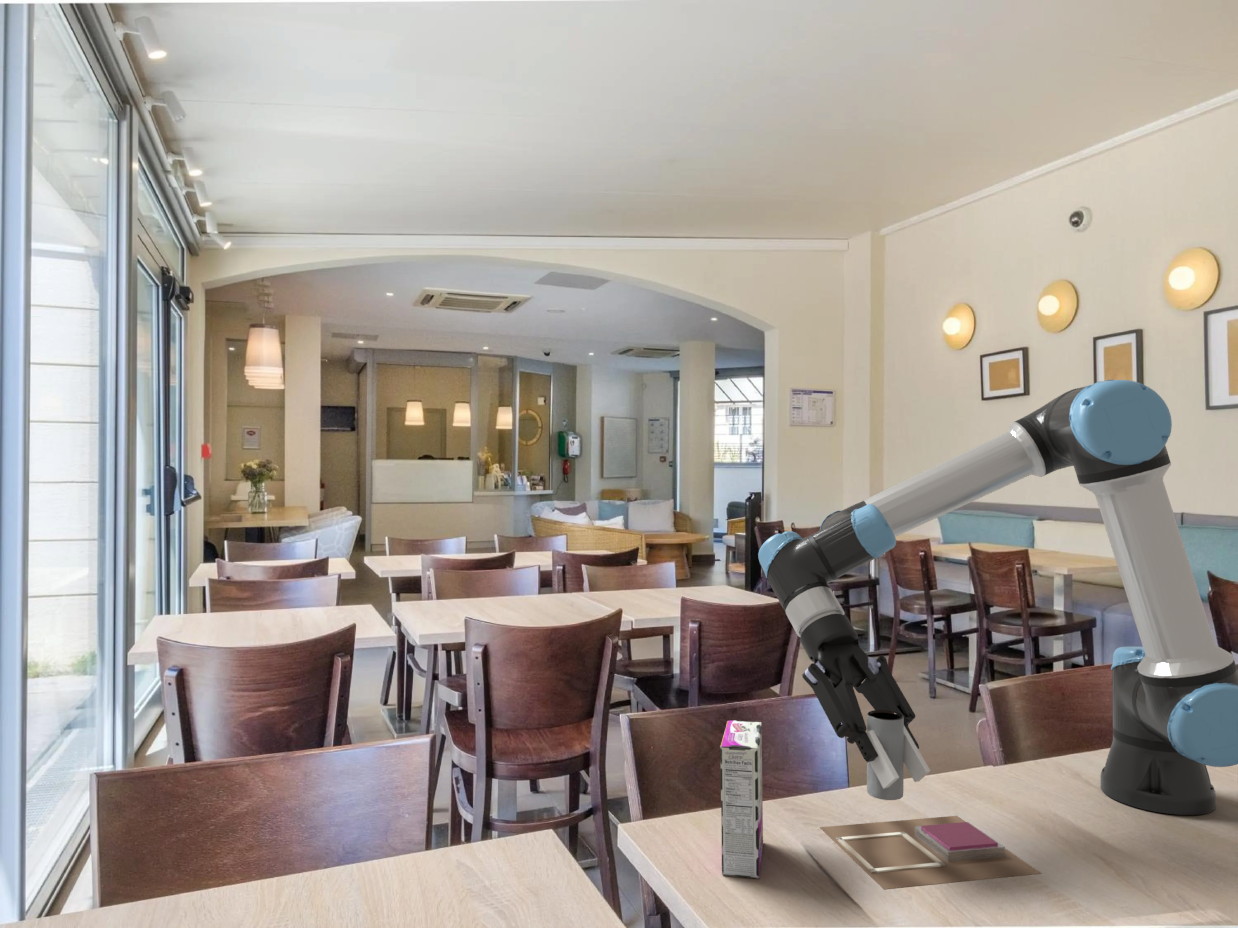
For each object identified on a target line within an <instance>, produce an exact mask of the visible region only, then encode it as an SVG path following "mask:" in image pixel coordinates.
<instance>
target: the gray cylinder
mask: <svg viewBox="0 0 1238 928" xmlns="http://www.w3.org/2000/svg"><path fill="white" fill-rule="evenodd" d="M866 716H867V717H866V728H867V730H866V733H867V732H868V731H870V730H874V732H875V734H876V736H877V738H878V739H879V741H880V743H881V745H882V747H883V749H884V750H885V752H886V754H887V756H888V758H889V760H890V761H891V763H892V765H893V767H894V769H895V770H896V772H897V774H898V776H899V778H898V779H897V780H896V781H895V782H894V783H893V784H892V785H891V786H889V787H888V788H884V789H883V787H882V785H881V783H880V781H879V779H878V777H877V775H876V773H875V772H874V770H873V768H872V766H871V764H870V762H866V792H867V795H869V796H871V797H872V798H874V799H878V800H884V801H897V800H900V799H902V798H903V796H904V777H905V775H904V772H905V771H904V767H905V764H904V717H903V715H902V714H900V713H897V712H894V711H888V710H875V709H873V710H870V711H868V712H867V715H866Z"/></svg>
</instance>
